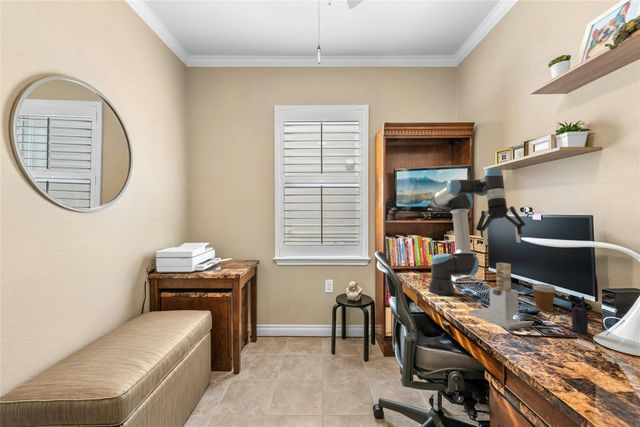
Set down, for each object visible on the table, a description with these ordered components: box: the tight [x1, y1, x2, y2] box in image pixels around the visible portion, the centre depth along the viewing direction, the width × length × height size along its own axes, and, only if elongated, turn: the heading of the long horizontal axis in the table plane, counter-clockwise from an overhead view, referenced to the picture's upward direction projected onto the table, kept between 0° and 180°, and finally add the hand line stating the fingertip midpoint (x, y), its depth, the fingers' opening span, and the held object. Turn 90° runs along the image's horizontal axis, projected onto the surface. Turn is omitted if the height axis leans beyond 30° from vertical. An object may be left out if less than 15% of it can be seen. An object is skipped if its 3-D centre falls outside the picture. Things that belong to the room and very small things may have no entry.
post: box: [495, 262, 512, 291], centre depth 135 cm, size 4×4×24 cm
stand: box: [469, 286, 541, 330], centre depth 135 cm, size 20×20×14 cm
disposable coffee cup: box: [532, 283, 557, 312], centre depth 147 cm, size 10×10×12 cm
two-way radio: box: [571, 296, 589, 335], centre depth 119 cm, size 6×4×15 cm
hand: (501, 243), depth 134 cm, fingers open, 13 cm apart
